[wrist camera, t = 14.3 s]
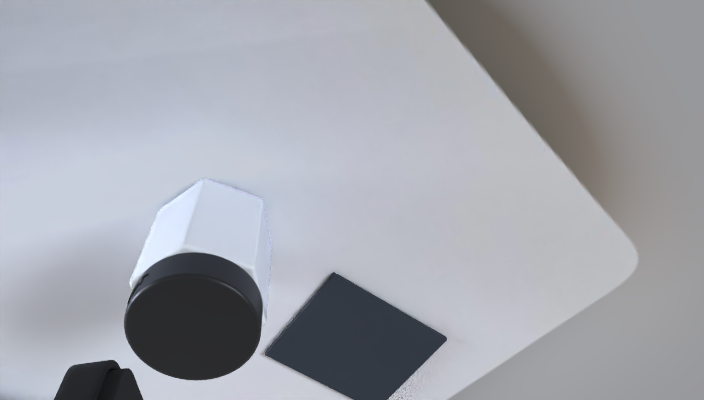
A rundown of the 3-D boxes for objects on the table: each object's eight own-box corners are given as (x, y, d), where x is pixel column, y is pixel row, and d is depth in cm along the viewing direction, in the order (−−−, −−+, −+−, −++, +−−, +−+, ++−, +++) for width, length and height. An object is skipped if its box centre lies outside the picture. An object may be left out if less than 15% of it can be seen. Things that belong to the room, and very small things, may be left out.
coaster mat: (265, 351, 55) (264, 354, 55) (334, 271, 52) (334, 274, 52) (375, 407, 59) (375, 411, 59) (446, 336, 56) (447, 340, 55)
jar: (148, 182, 47) (103, 278, 37) (259, 169, 47) (246, 261, 37) (176, 282, 51) (143, 394, 41) (278, 270, 51) (271, 378, 41)
